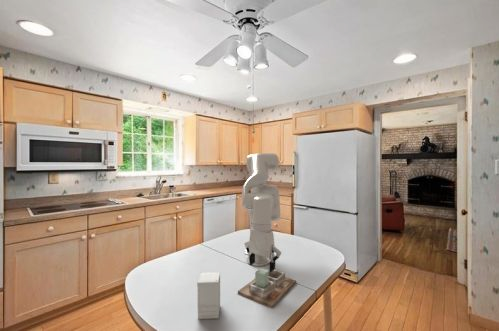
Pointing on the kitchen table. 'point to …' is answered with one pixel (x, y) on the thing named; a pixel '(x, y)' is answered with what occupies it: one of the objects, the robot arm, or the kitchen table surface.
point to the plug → (262, 278)
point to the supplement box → (208, 295)
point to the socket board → (268, 289)
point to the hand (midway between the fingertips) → (261, 267)
